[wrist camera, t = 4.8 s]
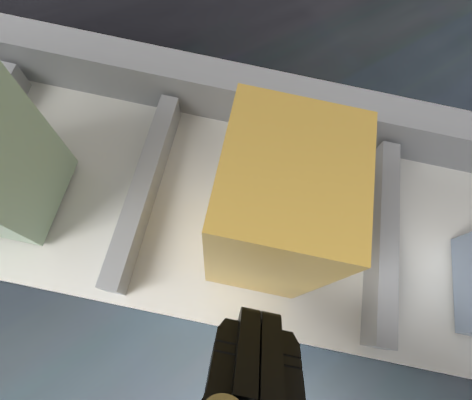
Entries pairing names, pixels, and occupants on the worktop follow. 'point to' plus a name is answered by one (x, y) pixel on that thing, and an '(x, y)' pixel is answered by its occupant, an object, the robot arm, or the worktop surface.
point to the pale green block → (29, 166)
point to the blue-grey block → (462, 282)
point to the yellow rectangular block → (291, 194)
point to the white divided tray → (200, 187)
